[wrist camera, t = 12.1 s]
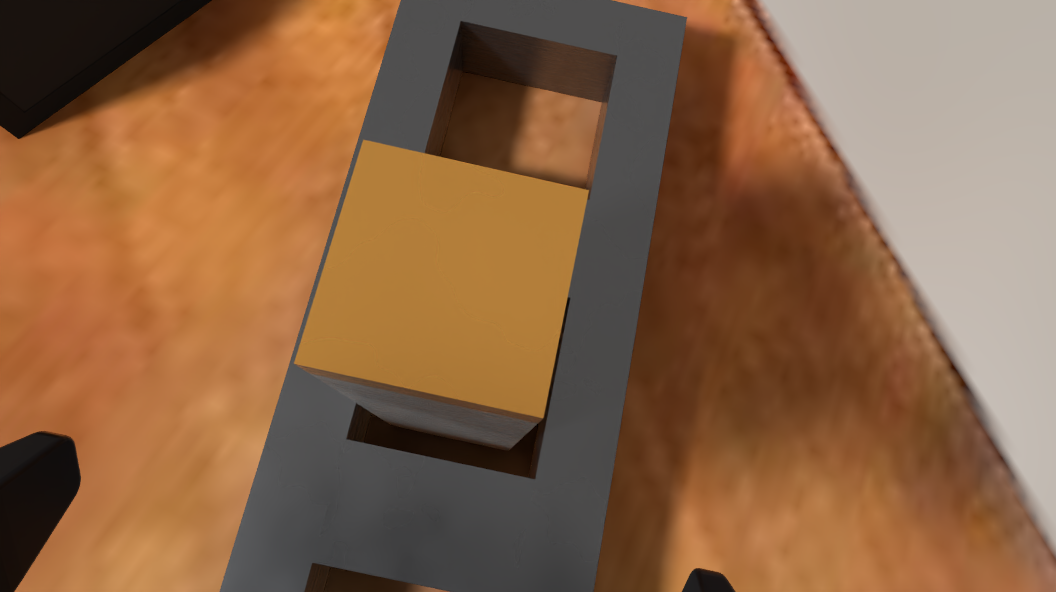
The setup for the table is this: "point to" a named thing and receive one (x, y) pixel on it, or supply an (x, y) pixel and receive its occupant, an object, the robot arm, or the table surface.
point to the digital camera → (71, 49)
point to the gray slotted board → (583, 350)
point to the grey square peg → (445, 294)
